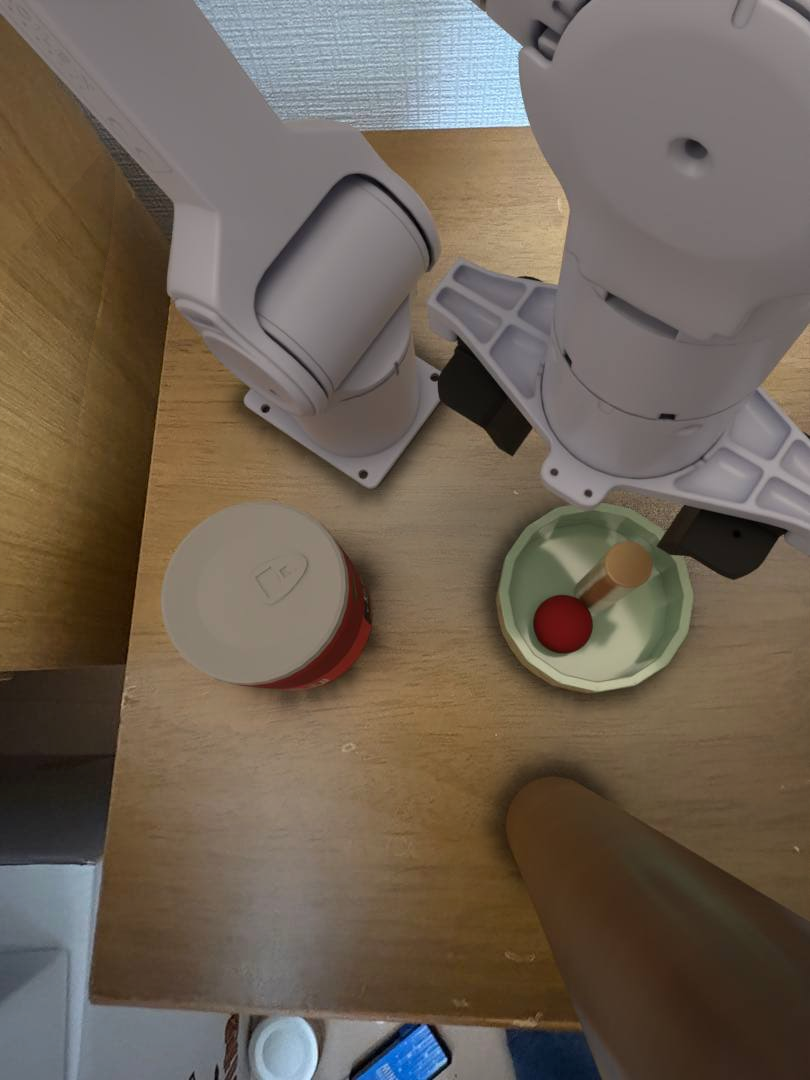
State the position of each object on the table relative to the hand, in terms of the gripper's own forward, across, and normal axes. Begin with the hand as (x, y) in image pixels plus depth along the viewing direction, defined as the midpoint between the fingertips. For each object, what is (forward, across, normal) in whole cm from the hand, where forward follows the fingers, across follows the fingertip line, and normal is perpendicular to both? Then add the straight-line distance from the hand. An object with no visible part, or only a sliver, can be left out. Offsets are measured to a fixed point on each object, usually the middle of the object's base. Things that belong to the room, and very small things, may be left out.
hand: (595, 481), depth 33 cm
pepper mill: (+11, +8, -13) cm, 18 cm away
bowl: (+10, +2, -2) cm, 11 cm away
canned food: (+10, -10, -12) cm, 18 cm away
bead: (+8, +2, -4) cm, 10 cm away
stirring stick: (+10, +3, -2) cm, 11 cm away
